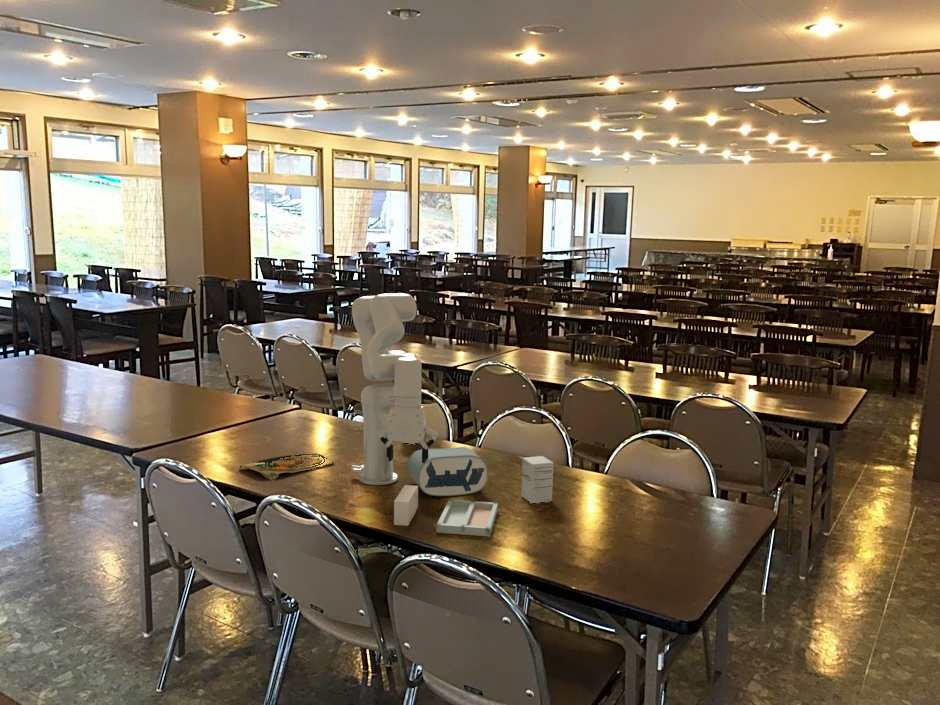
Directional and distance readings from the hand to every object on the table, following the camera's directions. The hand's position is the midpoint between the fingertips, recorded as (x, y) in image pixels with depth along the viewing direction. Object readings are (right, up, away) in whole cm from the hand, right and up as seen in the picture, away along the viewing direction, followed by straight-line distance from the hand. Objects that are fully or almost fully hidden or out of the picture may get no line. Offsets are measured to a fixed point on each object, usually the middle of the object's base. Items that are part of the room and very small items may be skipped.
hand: (407, 460), depth 225 cm
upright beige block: (-1, -16, +3) cm, 17 cm away
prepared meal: (-44, -9, +46) cm, 65 cm away
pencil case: (+10, -13, +29) cm, 33 cm away
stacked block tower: (+38, -15, +20) cm, 45 cm away
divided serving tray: (+17, -17, +1) cm, 24 cm away
